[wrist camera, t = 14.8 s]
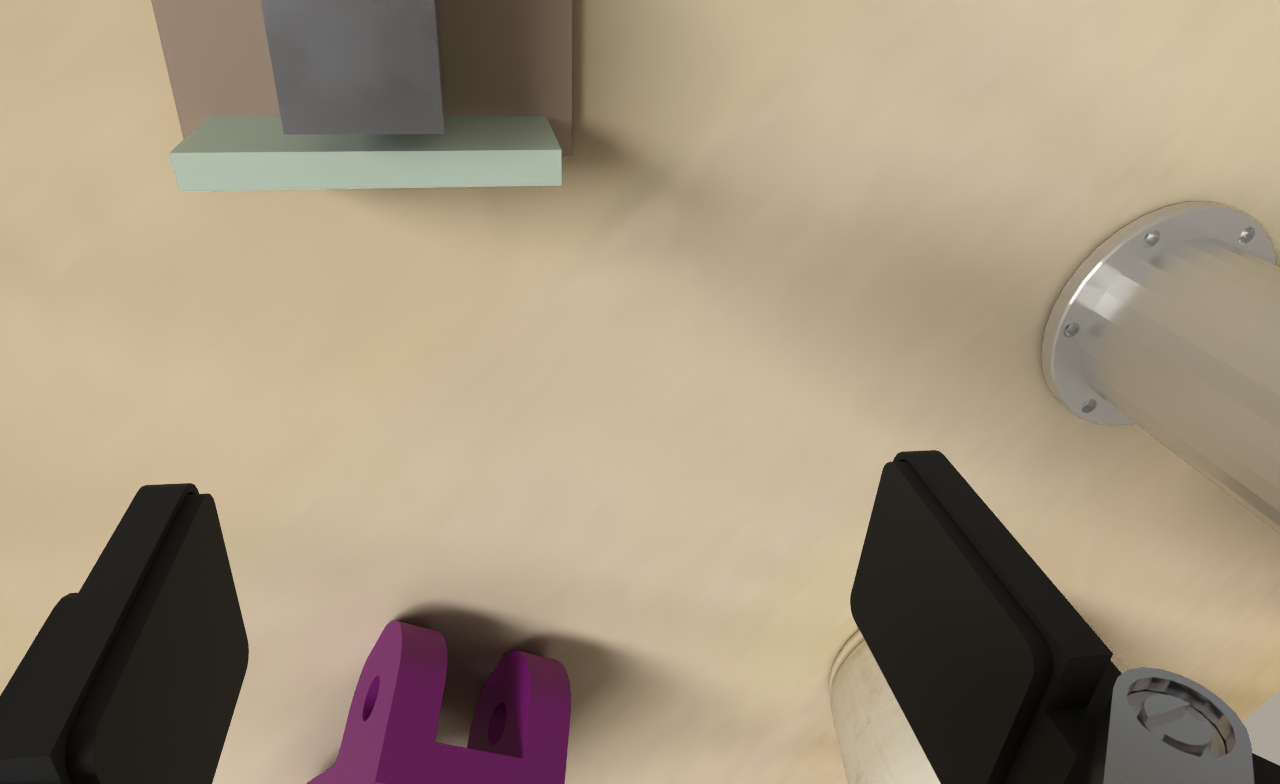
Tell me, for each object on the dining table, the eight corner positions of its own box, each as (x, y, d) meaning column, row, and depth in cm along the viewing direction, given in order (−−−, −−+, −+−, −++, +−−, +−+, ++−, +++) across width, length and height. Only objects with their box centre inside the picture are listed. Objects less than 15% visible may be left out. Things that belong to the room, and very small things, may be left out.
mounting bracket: (451, 715, 58) (577, 642, 45) (428, 851, 53) (562, 812, 40) (316, 688, 54) (413, 600, 42) (277, 832, 49) (375, 781, 37)
